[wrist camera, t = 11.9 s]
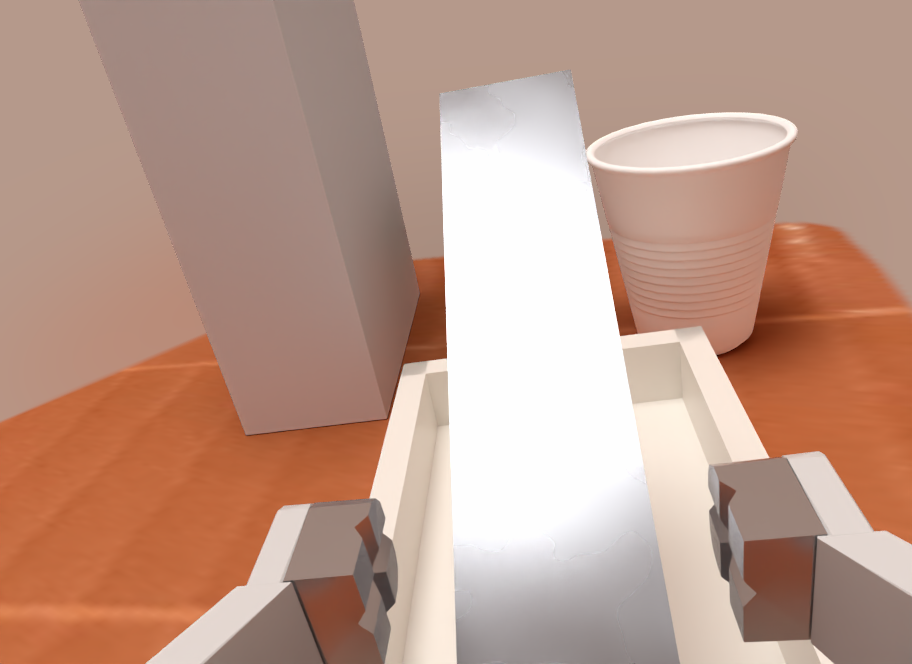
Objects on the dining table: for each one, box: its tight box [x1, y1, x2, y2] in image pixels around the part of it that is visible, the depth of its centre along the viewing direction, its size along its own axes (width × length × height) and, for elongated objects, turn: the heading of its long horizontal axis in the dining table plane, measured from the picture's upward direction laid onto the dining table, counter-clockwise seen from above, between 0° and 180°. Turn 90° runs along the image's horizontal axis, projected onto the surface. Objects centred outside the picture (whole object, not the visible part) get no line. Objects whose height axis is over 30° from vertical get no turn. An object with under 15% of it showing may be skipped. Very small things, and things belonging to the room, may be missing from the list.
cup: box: [586, 112, 798, 355], centre depth 38 cm, size 10×10×11 cm
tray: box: [370, 326, 834, 664], centre depth 21 cm, size 14×31×4 cm, turn 176°
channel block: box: [78, 0, 420, 435], centre depth 40 cm, size 8×16×27 cm, turn 176°
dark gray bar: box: [440, 70, 680, 664], centre depth 14 cm, size 4×24×4 cm
